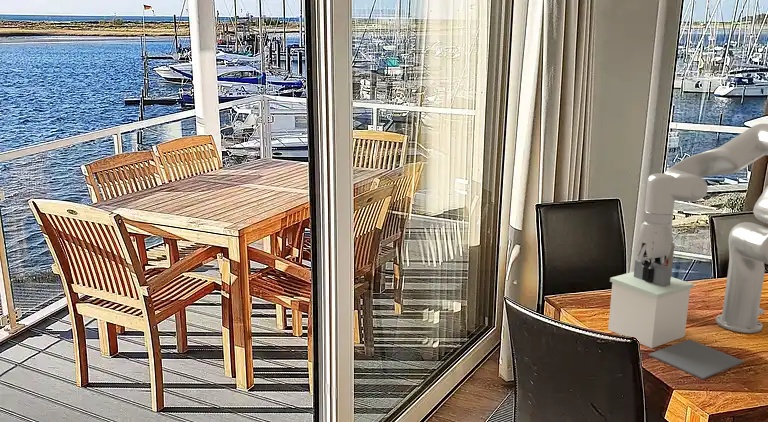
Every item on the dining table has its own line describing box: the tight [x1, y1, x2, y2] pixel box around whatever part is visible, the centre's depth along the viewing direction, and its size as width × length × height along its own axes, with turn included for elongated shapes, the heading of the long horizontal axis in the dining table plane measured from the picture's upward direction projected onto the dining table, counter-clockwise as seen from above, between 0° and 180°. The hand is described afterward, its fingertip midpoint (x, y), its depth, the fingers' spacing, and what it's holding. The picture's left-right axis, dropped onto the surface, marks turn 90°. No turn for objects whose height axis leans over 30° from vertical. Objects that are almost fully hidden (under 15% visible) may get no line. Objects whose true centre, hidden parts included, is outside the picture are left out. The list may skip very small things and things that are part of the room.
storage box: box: [607, 282, 691, 349], centre depth 199 cm, size 15×15×15 cm
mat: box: [648, 338, 744, 380], centre depth 185 cm, size 18×16×1 cm
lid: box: [609, 259, 694, 299], centre depth 197 cm, size 16×16×7 cm
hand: (651, 279), depth 197 cm, fingers closed on lid, 3 cm apart
